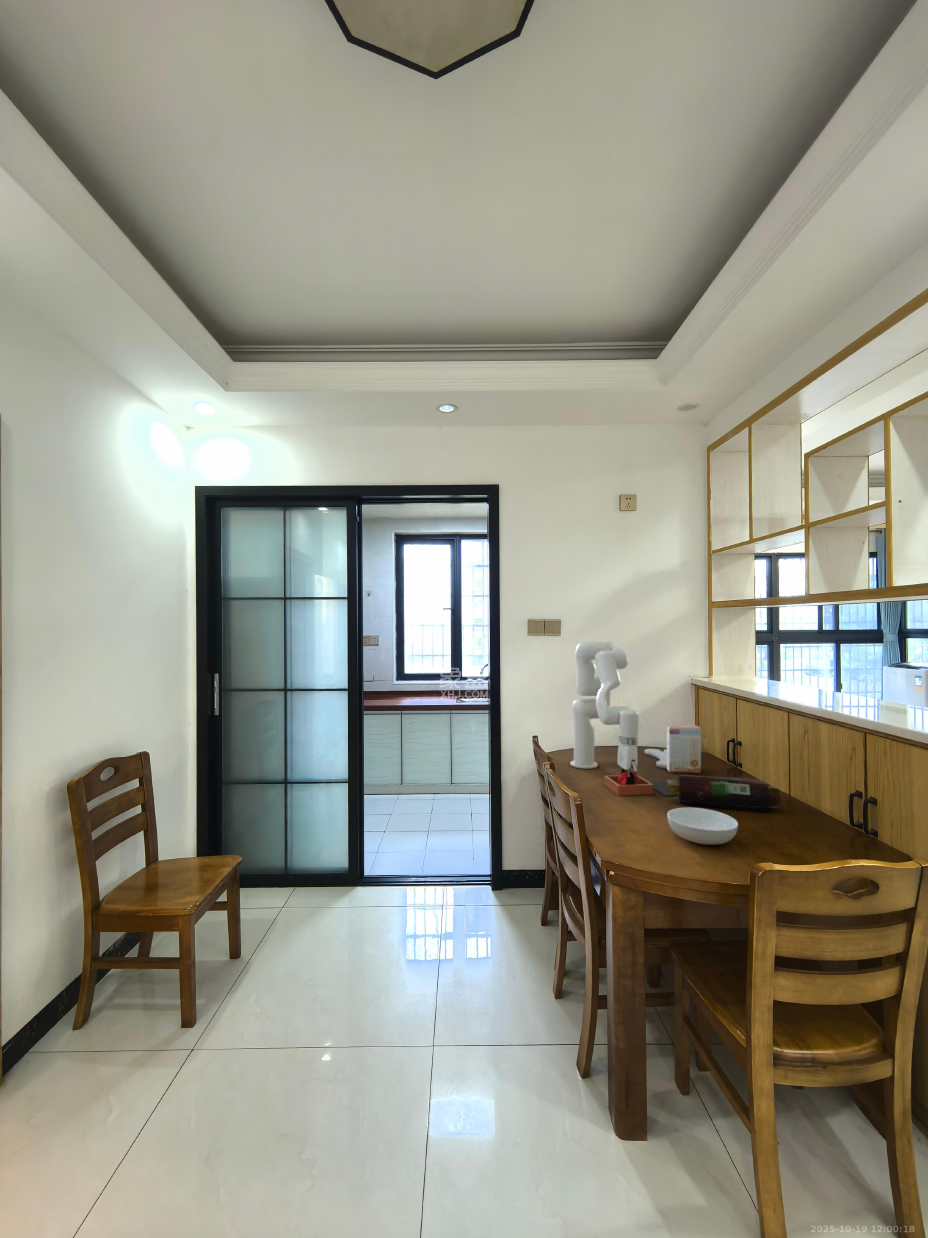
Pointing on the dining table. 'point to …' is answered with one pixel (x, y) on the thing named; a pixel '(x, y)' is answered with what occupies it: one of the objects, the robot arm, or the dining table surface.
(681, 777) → the packaged item
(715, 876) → the dining table surface
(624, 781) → the cap
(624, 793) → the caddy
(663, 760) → the holder
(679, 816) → the serving bowl
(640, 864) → the dining table surface
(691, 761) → the cracker box
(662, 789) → the mat
